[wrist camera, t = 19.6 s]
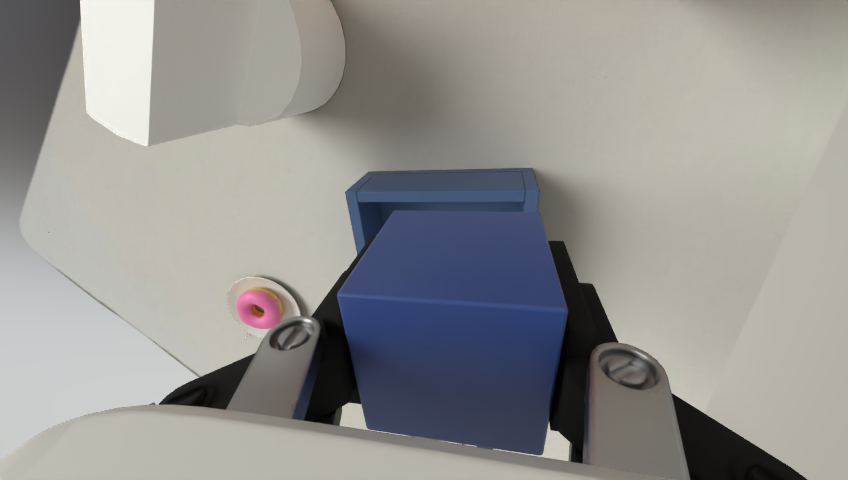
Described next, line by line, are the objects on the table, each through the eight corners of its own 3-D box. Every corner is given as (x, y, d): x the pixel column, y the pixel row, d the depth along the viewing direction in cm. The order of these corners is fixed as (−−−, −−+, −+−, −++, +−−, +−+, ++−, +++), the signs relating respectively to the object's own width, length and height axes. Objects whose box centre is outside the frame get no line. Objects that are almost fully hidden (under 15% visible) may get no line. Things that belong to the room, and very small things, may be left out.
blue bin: (532, 167, 24) (539, 189, 20) (522, 296, 29) (526, 335, 25) (368, 171, 27) (344, 191, 22) (387, 289, 32) (370, 323, 28)
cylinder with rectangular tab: (238, -67, 21) (-19, -194, 10) (365, 10, 21) (241, -38, 11) (217, 74, 25) (24, 84, 15) (322, 135, 26) (206, 183, 16)
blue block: (540, 211, 10) (569, 310, 6) (527, 327, 12) (543, 457, 8) (393, 209, 11) (334, 293, 7) (405, 317, 13) (365, 430, 9)
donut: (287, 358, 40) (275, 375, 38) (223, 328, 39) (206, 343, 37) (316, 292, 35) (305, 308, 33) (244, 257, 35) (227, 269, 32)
